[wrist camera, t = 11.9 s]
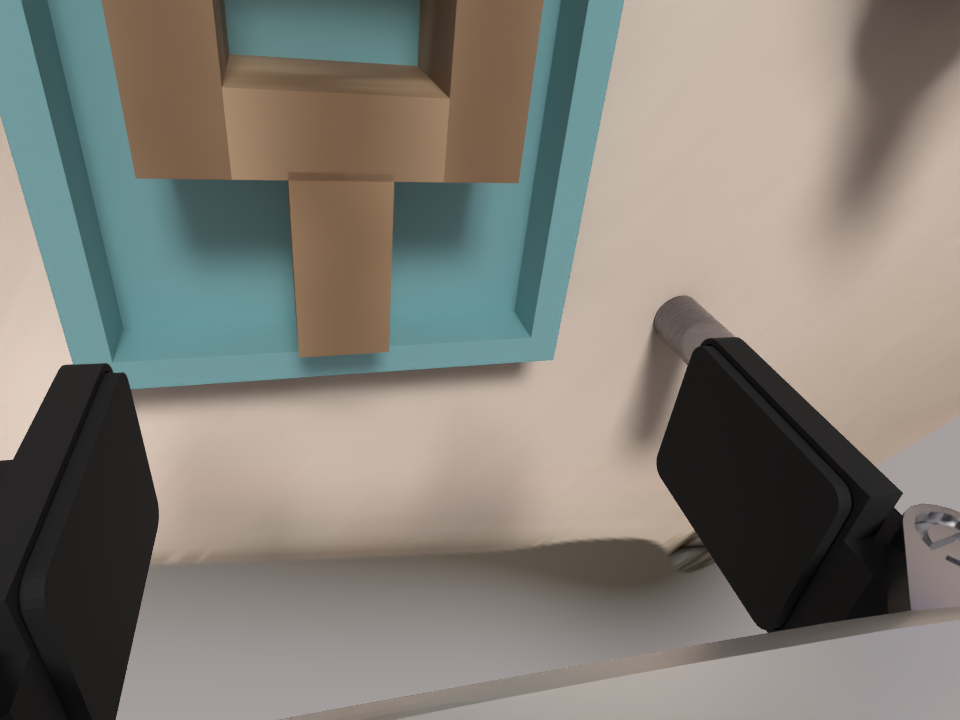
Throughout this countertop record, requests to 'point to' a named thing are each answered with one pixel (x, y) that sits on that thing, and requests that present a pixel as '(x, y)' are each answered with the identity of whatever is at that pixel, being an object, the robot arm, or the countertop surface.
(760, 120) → the countertop surface
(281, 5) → the tray
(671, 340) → the grey metallic cylinder
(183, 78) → the wooden frame with stub
